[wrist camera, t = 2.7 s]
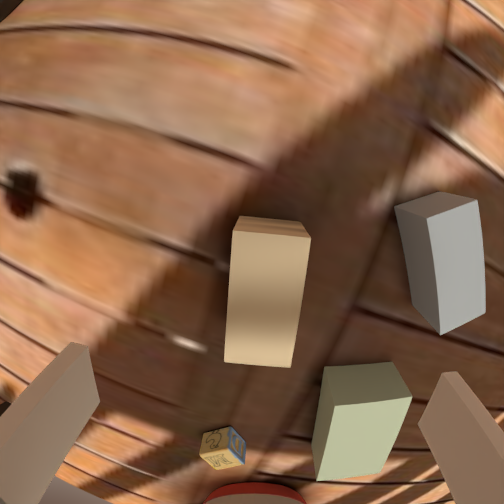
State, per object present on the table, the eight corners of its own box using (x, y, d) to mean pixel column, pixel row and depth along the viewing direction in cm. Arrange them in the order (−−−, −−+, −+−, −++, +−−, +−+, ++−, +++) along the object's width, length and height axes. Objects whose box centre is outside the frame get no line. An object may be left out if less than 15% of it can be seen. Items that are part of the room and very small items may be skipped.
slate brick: (393, 206, 20) (426, 218, 15) (438, 191, 20) (477, 199, 15) (411, 304, 22) (440, 335, 17) (452, 287, 22) (485, 312, 17)
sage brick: (323, 365, 24) (334, 405, 19) (391, 360, 24) (412, 396, 19) (311, 442, 27) (316, 481, 22) (368, 437, 26) (380, 472, 22)
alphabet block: (246, 442, 27) (245, 465, 24) (219, 449, 27) (216, 472, 24) (231, 424, 26) (228, 448, 23) (203, 432, 26) (198, 455, 23)
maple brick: (239, 215, 21) (232, 230, 16) (299, 221, 21) (311, 238, 16) (231, 323, 23) (224, 361, 18) (285, 328, 23) (290, 367, 18)
